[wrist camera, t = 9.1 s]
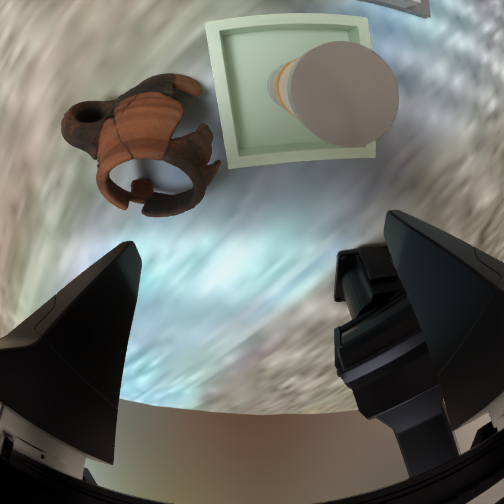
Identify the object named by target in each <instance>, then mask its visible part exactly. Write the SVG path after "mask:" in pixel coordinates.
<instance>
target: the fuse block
mask: <svg viewBox="0 0 504 504" xmlns="http://www.w3.org/2000/svg"><path fill="white" fill-rule="evenodd" d="M360 1H365V2H370V3H374V4H378V5H382V6H386V7H390V8H394V9H397V10H401V11H404V12H407V13H410V14H413V15H416V16H419V17H422V18H429V17H431V16H430V8H429V0H360Z"/></svg>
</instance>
